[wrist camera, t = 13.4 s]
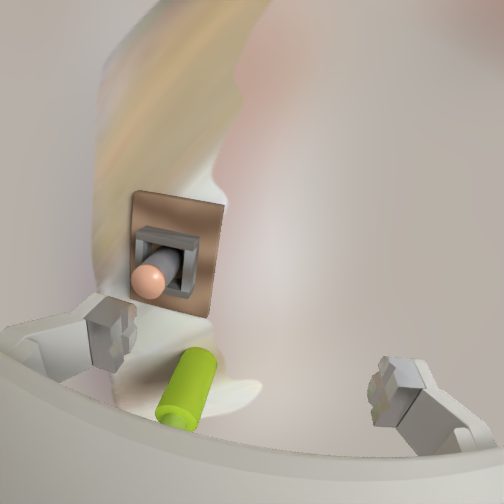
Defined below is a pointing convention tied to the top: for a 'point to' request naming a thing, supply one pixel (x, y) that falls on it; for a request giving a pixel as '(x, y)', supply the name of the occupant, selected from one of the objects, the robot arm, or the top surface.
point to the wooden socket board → (182, 237)
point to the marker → (157, 272)
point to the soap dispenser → (187, 390)
